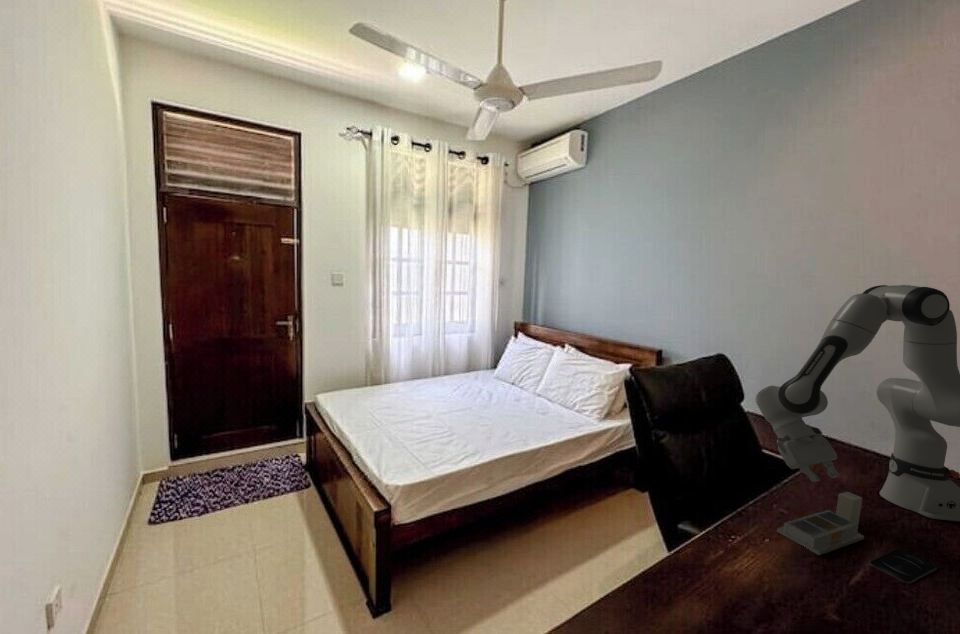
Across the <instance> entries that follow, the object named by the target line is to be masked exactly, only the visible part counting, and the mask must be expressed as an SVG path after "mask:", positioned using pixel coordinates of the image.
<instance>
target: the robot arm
mask: <svg viewBox="0 0 960 634" xmlns="http://www.w3.org/2000/svg"><path fill="white" fill-rule="evenodd" d="M950 308H951V305H950V300H949V298H948V296H947V295H946V293H944V292H943V291H942V290H939V289H938V288H937V289H936V288H933V287H930V286H929V287H928V286H917V285H912V284H911V285H908V284H900V285H887V284H883V285H882V284H881V285H875V286H871V287H869V288H867V289H866V290H864V291H863V292H861V293H855V294H853V295H852V296H850V297H849V298H848V299H847V300H846V301H845V302H844V303H843V304H842V305H841V307H840V308H839V310H838V311H837V312H835V315H834V316H833V317H832V319H831V320H830V322H829V324H828V326H827V327H826V329H825V331H824V333H823V335H822V337H821V339H820V340H819V343H818V344H817V346H816V348H815V349H814V351H813V352H812V354H811V355H810V356H809V358H808V359H807V361H806V362H805V364H804V365H803V366H802V367H801V369H800V370H799V371H798V373H797V374H796V375H794V376H793V377H792V378H790V379H788V380H787V381H785V382H784V383H783V384H782V385H781V386H779V385H778V386H776V385H769V386H767V387H764V388H763V389H761V390H760V391H759V392H758V393H757V394H756V396H755V403H756V405H757V408H758V409H759V410H760V412H761V414H762V416H763V417H764V418H765V420H766V421H767V423H769V424H770V425H771V427H772V429H773V432H774V434H776V437H777V438H776V445H777V450H778V451H779V454H780V456H781V457H782V459H783V461H784V462H785V464H786V466H788V468H790V469H791V470H795V469H799V470H800V471H801V472H802V473H803V474H804V475H805V476H806V477H807V478H809V480H810V481H811V482H812V483H816V482H820V481H821V478H820V477H819V475H818V474H816V473H814V471H813V470H812V469H811V466H815V465H819V464H820V465H821V464H822V466H824V467H825V468H826V470H827V472H826V474H828V476H829V477H830V478H832V479H833V478H837V477H839V472H837V470H836V468H835V464H834V463H833V461H834V460H837V459H838V455H837V452H836V451H835V449H834V447H833V446H832V444H830V442H829V440H827V439H826V438H825V437H824V436H823V432H822V430H821V429H820V428H819V427H815V426H812V425H810V424H806V422H805V421H804V419H803V418H805V417H806V418H807V417H811V416H817V415H819V414H821V413H823V412H824V411H826V408H827V407H828V405H829V403H828V402H829V401H828V397H827V395H826V394H825V392H823V391H822V390H821V389H822V386H823V384H824V383H825V382H826V380H827V378H828V377H829V376H831V375H830V374H831V373H832V372H833V370H834V369H835V367H836V366H837V365H838V364H839V363H840V362H841V361H843V360H844V359H847V358H850V357H853V356H857V355H858V356H859V355H860V354H861V353H862V352H863V351H864V350H866V348H868V346H869V345H870V344H871V343H872V341H873V340H874V338H875V337H876V336H877V334H878V332H879V330H880V329H881V327H882V325H883V324H884V323H885V322H886V321H892V322H902V324H903V326H904V330H903V342H902V343H903V345H902V346H903V347H902V349H903V350H902V352H903V353H902V361H903V364H904V366H905V367H906V368H907V369H908V370H910V371H911V372H913V373H914V374H915V375H916V377H918V379H919V381H918V380H915V379H910V378H901V377H900V378H899V377H890V378H886V379H884V380H882V381H881V382H879V385H878V386H877V388H876V397H877V399H878V401H879V402H880V403H881V404H882V405H883V406H884V407H885V408H886V409H887V411H888V413H889V414H890V417H891V420H892V422H893V425H894V429H895V430H894V432H895V436H894V446H893V453H891V454H890V458H889V465H888V475H887V477H886V480H885V482H884V484H883V486H882V487H881V490H879V495H880V497H882V498H883V499H885V500H886V501H888V502H890V503H892V504H894V505H896V506H899V507H901V508H903V509H907V510H910V511H912V512H915V513H918V514H920V515H921V516H924V517H927V518H930V519H933V520H944V521H951V522H952V521H953V522H960V486H958V485H957V484H956V483H955V482H953V481H952V480H951V479H950V477H952V478H954V479H959V478H960V472H958V471H956V470H954V469H950V468H948V467H947V466H945V463H946V462H945V461H946V456H947V450H948V442H947V440H946V439H945V438H944V436H942V435H941V434H940V433H938V431H937V430H936V429H935V428H934V427H933V425H932V422H935V423H938V424H943V425H946V426H951V427H957V428H960V370H959V367H958V366H959V365H958V346H957V345H958V330H957V324H956V319H955V316H954V313H953V311H952V309H950ZM931 421H932V422H931Z"/></svg>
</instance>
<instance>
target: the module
mask: <svg viewBox="0 0 960 634" xmlns="http://www.w3.org/2000/svg"><path fill="white" fill-rule="evenodd" d="M862 503H863V497H862V496H859V495H857V494H854V493H852V492H849V491H845V492H841V493H838V496H837V503H836V509H835V510H836V511H835V513H836V514H838V515H840V516H842V517H844V518H846V519H849V520H851V521H853V522H855V523H858V524H859V523H860V516H861V509H862Z"/></svg>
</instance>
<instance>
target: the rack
mask: <svg viewBox="0 0 960 634" xmlns="http://www.w3.org/2000/svg"><path fill="white" fill-rule="evenodd" d="M858 530H859V523H855V522H853V521H851V520H849V519H846V518H844V517H842V516H840V515H838V514H836V512H834V511H832V510H830V509H826V510H823V511H820V512H815V513H812V514H810V515H809V514H808V515H805V516H802V517H799V518H798V517H797V518H796V519H792V520H788V521H785V522H784V523H783V526H781V527H777V528H776V533H778V534H780V535H782V536H784V537H785V538H787V539H789V540H791V541H793V542H794V543H796V544H798V545H800V546H801V545H802V547H803V546H804V547H803V548H805V547H806V548H805V549H807V550H808V549H809V550H808V551H811V552H812V553H814V554H816V555H817V556H821V555H824V554H828V553H830V552H833V551H836V550H838V549H841V548H843V547H846V546H849V545H851V544H854V543H857V542H860V541H863V540H864V539H865V535H863V534H861V533H859V532H858Z"/></svg>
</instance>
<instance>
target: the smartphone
mask: <svg viewBox="0 0 960 634" xmlns="http://www.w3.org/2000/svg"><path fill="white" fill-rule="evenodd" d="M869 564H870V566H872V567H873V568H875V569H877V570H879V571H881V572H883V573H885V574H887V575H889V576H890V577H892V578H894V579H896V580H898V581H900V582H902V583H904V584H909V585H911V584H913V583H914V582H916V581H918V580H921V579H922V578H924V577H925V576H928V575H930V574H932V573H934V572H936V571H937V565H935V564H933V563H931V562H930V561H927V560H925V559H923V558H921V557H920V556H916V555H914V554H912V553H911V552H908V551H906V550H904V549H900V548H895V549H893V550H891V551H889V552H887V553H885V554H882V555H880V556H878V557H876V558H874V559H872V560H870V561H869Z"/></svg>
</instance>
